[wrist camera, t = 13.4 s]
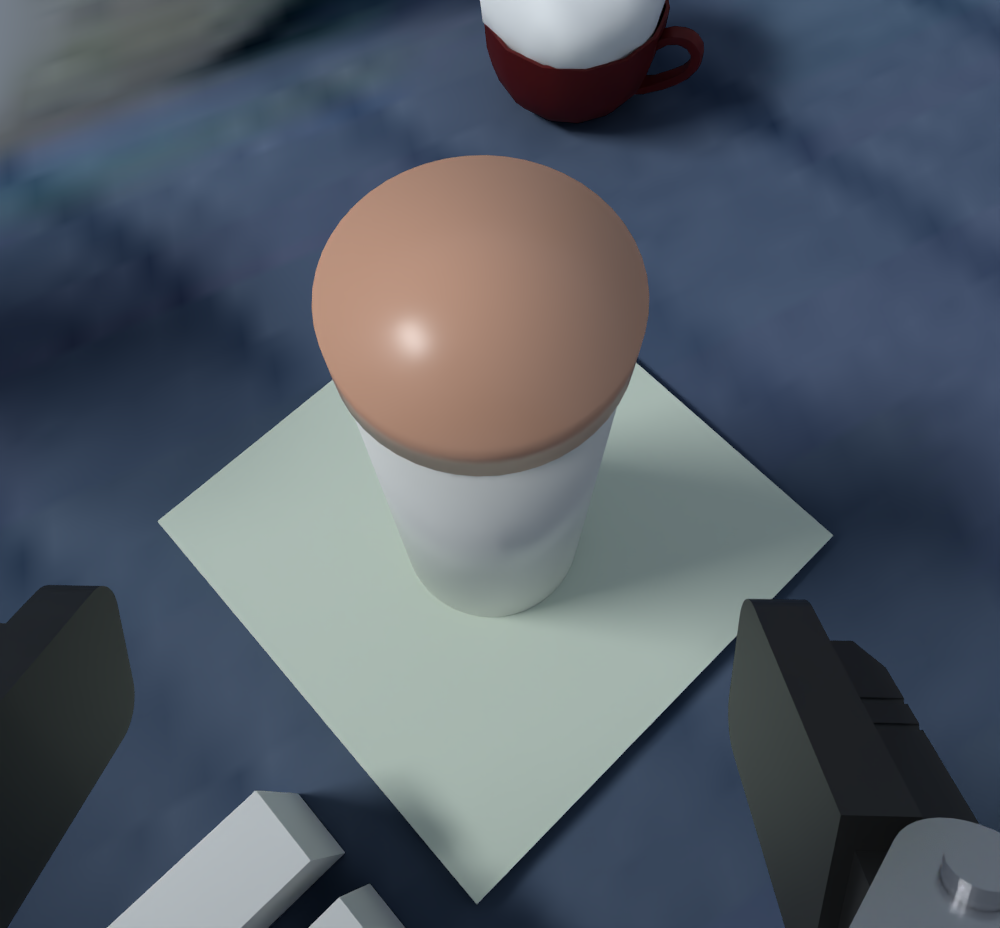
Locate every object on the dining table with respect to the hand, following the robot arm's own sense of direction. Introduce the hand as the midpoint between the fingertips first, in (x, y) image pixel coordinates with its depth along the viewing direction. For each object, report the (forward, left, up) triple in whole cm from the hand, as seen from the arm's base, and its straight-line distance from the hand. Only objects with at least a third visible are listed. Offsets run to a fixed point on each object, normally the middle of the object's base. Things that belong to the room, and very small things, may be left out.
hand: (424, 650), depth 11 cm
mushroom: (-4, +4, -13) cm, 14 cm away
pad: (-4, +4, -14) cm, 15 cm away
